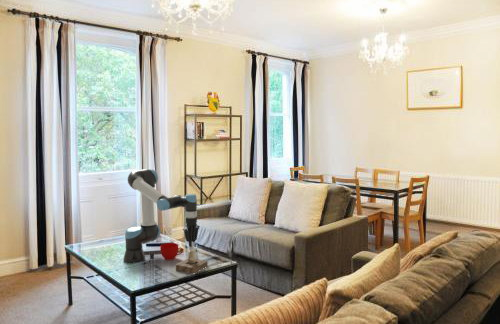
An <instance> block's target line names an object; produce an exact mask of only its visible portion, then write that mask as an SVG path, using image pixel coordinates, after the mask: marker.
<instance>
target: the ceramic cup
mask: <svg viewBox="0 0 500 324" xmlns="http://www.w3.org/2000/svg"><path fill="white" fill-rule="evenodd" d="M159 247H160V248H159V249H160V254H161V257H162V258H163V259H164V260H165V261H173V260H174V259H176V257H177V256H180V255H181V254H183V252H184V248H183V247H179V244H178V243H175V242H167V243H166V242H165V243H162V244H161V245H160V246H159ZM179 250H181V252H179Z"/></svg>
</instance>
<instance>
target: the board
mask: <svg viewBox="0 0 500 324" xmlns="http://www.w3.org/2000/svg"><path fill="white" fill-rule="evenodd" d="M208 263H209V261H208V260H205V259H198V258H196V263H195V265H190V264H188V258H186V259H184V260H182V261H180V262H179V263H176V264H175V271H176V272H177V271H178V272H181V273H186V272H189V273H188V274H191V273H196V272H197V273H199V272H200V271H199V270H201V269H203V268H204V269H206V268H208V267H207V266H208ZM205 267H206V268H205ZM204 269H203V270H204ZM198 271H199V272H198ZM201 271H202V270H201ZM197 273H196V274H197Z"/></svg>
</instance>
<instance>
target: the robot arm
mask: <svg viewBox="0 0 500 324" xmlns="http://www.w3.org/2000/svg"><path fill="white" fill-rule="evenodd" d="M158 182H159V176H158V173H157V171H156V170H155V169H152V168H144V169H137V170H133V171H131V172H129V174H128V176H127V184H128V185H129V186H130V188H132V189H133V190H135V191H138V192H139V193H140V195H141V197H140V198H141V213H142V214H141V215H142V222H141V223H140V226H132V227H128V228H127V229H126V230H125V235H124V237H125V252H124V255H123V263H126V264H139V263H142V262H144V261H146V255H145V252H144V249H143V244H147V243H150V242H154V241H157V240H158V239H159V238H160V236H161V228H160V226H159V225H158V223H157V222H156V221H155V206H154V205H156V207H157V209H158V210H159V211H167V210H171V209H176V208H185V225H186V226H185V227H184V228H182V230H183V232H184V233H183V234H184V236H185V241H186V242H187V243H188V247H189V251H191V252H193V251H195V242H196V241H197V240H198V236H199V235H198V233H199V229H200V225H198V224H197V222H198V210H197V209H198V205H197V203H198V198H197V197H198V196H197V195H196V194H195V193H186V194H185V195H180V194H175V195H174V196H172V197H167V196H166V195H164V194H163V193H162V192H160V191H158V189H156V184H157V183H158Z"/></svg>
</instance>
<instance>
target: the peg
mask: <svg viewBox="0 0 500 324" xmlns="http://www.w3.org/2000/svg"><path fill="white" fill-rule="evenodd" d="M196 252H197V251H196V250H194V251H193V252H191V251H190V250H188V251H187V259H188V264H190V265H195V263H196V259H197V257H196Z"/></svg>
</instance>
